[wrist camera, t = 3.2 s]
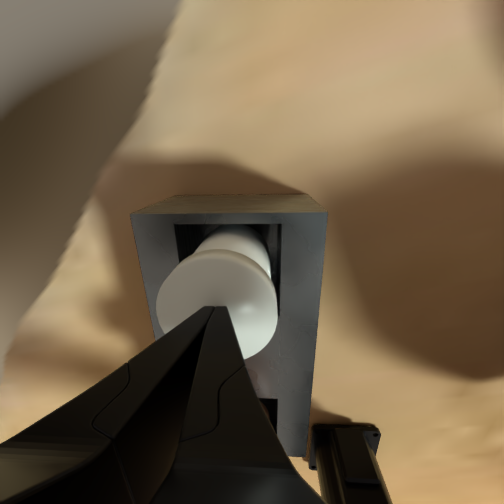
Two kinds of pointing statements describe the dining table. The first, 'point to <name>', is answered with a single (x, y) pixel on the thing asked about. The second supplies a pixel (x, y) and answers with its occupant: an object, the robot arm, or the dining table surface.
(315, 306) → the press block
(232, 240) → the plunger
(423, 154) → the dining table surface
